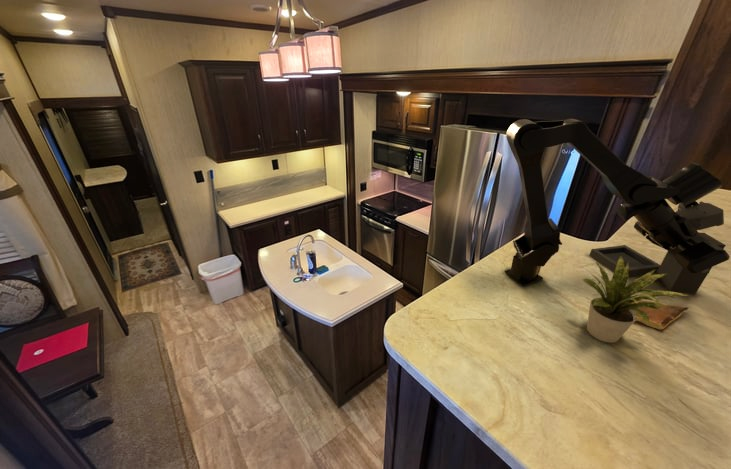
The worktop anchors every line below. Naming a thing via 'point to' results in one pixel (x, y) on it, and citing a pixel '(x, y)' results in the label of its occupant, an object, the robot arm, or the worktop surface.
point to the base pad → (633, 258)
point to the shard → (661, 315)
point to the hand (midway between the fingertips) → (694, 263)
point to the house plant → (621, 302)
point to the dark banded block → (682, 270)
